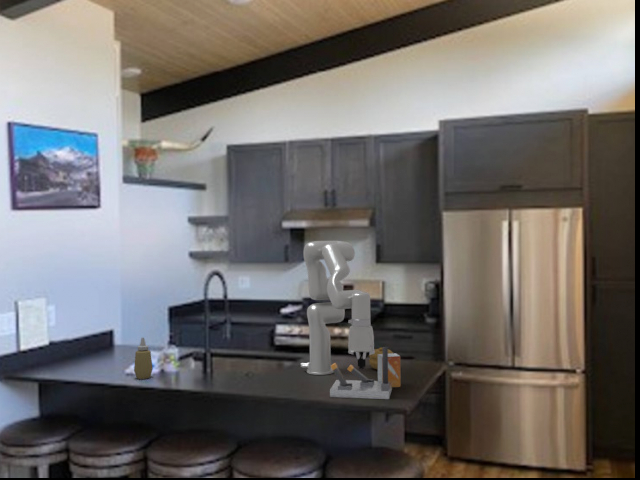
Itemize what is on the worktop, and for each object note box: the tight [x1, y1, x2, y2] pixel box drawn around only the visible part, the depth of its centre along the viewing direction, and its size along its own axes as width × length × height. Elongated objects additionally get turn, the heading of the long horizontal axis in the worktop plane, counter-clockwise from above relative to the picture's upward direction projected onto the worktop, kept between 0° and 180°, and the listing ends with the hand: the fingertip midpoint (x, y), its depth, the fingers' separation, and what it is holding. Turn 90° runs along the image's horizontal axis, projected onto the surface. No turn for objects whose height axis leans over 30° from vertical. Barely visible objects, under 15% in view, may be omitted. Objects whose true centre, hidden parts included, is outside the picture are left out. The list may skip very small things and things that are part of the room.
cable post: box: [381, 346, 390, 390], centre depth 255 cm, size 3×3×16 cm
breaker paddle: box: [347, 364, 369, 382], centre depth 265 cm, size 2×3×9 cm
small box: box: [377, 352, 402, 388], centre depth 273 cm, size 8×6×13 cm
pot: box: [368, 347, 394, 371], centre depth 305 cm, size 12×12×10 cm
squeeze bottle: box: [133, 337, 153, 380], centre depth 294 cm, size 8×8×18 cm
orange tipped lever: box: [331, 362, 347, 386], centre depth 259 cm, size 2×3×9 cm, turn 169°
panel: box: [329, 379, 393, 400], centre depth 262 cm, size 23×16×4 cm
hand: (361, 368), depth 265 cm, fingers closed
